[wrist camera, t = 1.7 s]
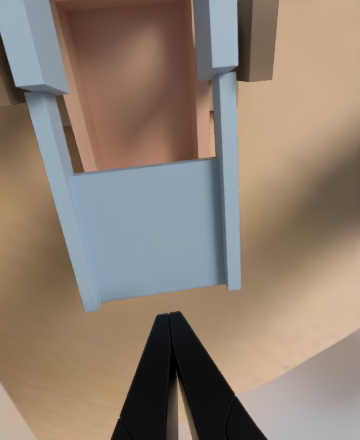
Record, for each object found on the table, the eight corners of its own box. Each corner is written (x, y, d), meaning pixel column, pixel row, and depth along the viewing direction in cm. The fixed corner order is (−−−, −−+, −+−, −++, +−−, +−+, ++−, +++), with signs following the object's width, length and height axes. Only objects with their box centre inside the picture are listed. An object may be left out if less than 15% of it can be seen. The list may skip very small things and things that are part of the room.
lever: (233, 272, 14) (251, 305, 11) (90, 294, 13) (77, 332, 11) (204, -545, 6) (241, -999, 4) (-134, -564, 6) (-354, -1098, 3)
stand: (232, 106, 17) (293, 131, 10) (48, 125, 16) (-21, 167, 9) (234, -19, 14) (324, -106, 7) (7, -2, 13) (-141, -81, 6)
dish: (202, 169, 18) (211, 184, 16) (98, 181, 18) (91, 198, 16) (194, -14, 14) (206, -32, 11) (52, -3, 13) (31, -19, 11)
